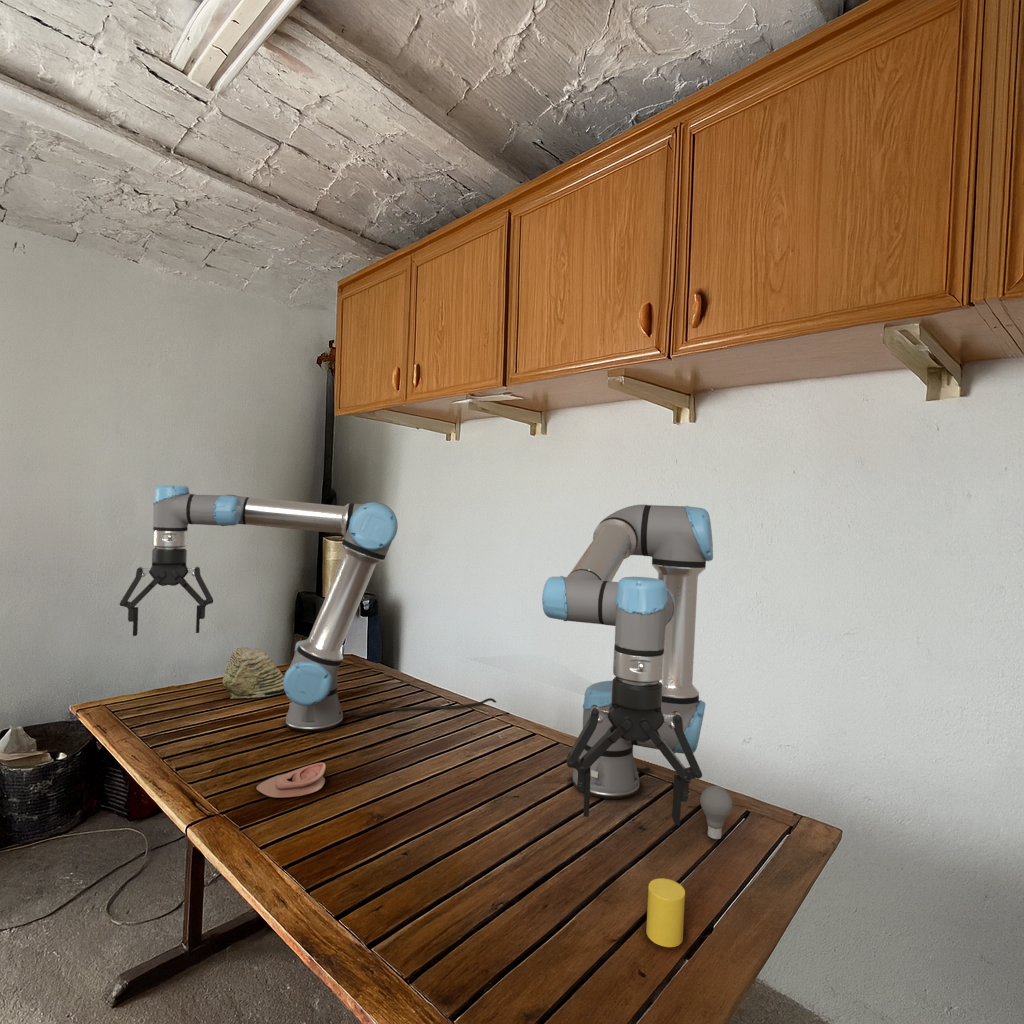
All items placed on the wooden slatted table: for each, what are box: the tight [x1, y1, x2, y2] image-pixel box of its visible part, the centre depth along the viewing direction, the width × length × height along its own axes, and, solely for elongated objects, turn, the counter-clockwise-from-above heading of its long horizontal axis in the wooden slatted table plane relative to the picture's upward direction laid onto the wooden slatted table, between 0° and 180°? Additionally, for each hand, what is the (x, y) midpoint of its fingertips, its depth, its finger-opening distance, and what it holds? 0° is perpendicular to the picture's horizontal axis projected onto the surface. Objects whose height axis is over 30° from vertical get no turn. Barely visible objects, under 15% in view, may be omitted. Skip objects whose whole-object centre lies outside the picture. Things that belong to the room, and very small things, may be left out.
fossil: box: [222, 646, 285, 699], centre depth 198 cm, size 9×18×15 cm, turn 132°
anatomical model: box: [256, 762, 327, 799], centre depth 137 cm, size 13×4×12 cm
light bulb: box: [699, 785, 734, 840], centre depth 124 cm, size 6×6×10 cm
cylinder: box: [645, 877, 686, 948], centre depth 95 cm, size 5×5×7 cm
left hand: (166, 633), depth 157 cm, fingers open, 13 cm apart
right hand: (630, 817), depth 97 cm, fingers open, 13 cm apart
